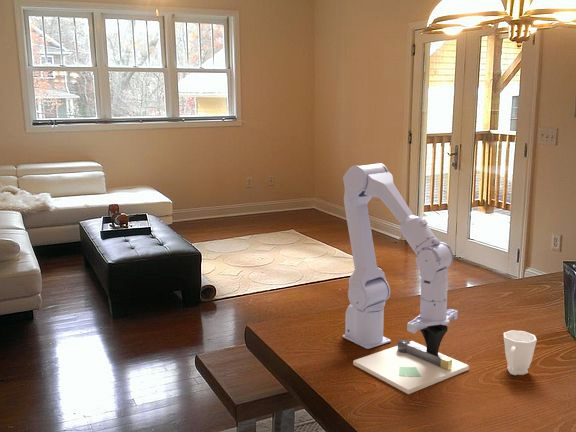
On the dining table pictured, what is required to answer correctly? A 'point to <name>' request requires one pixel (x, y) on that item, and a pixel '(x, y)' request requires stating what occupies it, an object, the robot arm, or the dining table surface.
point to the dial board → (407, 369)
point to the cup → (519, 351)
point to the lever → (424, 354)
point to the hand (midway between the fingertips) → (432, 355)
